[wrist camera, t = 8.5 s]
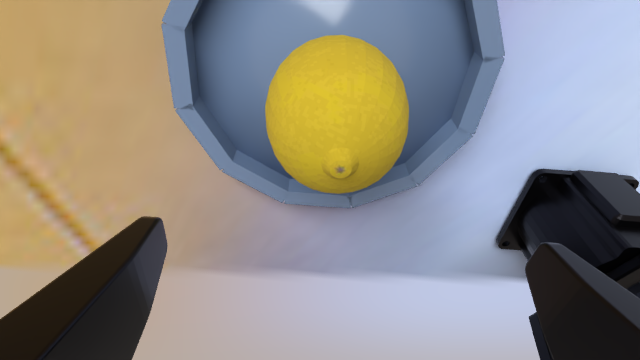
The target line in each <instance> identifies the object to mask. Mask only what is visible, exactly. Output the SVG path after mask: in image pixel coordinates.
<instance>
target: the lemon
mask: <svg viewBox="0 0 640 360" xmlns="http://www.w3.org/2000/svg"><path fill="white" fill-rule="evenodd" d="M265 116H266V129H267V134H268V138H269V140H270V143H271V146H272V149H273V152H274V154H275V156H276V158H277V159H278V161H279V162H280V163H281V165H282V166H283V168H284V169H285V171H286V172H287V173H288V174H290V175H291V176H292V177H293V178H294V179H295V180H297V181H298V182H299V183H301V184H303V185H305V186H307V187H309V188H311V189H313V190H317V191H320V192H324V193H335V194H341V193H349V192H355V191H358V190H361V189H364V188H367V187H368V186H370V185H372V184H373V183H375V182H377V181H379V180H380V179H381V178H382V177H383V176H384V175H385V174H386V173H387V172H388V171H389V170H390V169H391V168H392V167H393V165H394V164H395V162H396V161H397V159H398V158H399V156H400V154H401V152H402V149H403V146H404V143H405V140H406V138H407V133H408V121H409V104H408V99H407V95H406V91H405V87H404V83H403V81H402V79H401V77H400V75H399V74H398V72H397V70H396V68H395V67H394V65H393V63H392V62H391V61H390V60H389V59H388V58H387V57H386V56H385V55H384V54H383V53H382V52H381V51H380V50H379V49H378V48H376V47H375V46H373V45H371V44H369V43H367V42H365V41H363V40H362V39H359V38H355V37H350V36H346V35H327V36H323V37H319V38H316V39H313V40H310V41H308V42H306V43H304V44H303V45H301V46H299V47H298V48H296V49H295V50H293V51H292V52H291V54H290V55H289V56H288V57H287V58H286V59H285V60H284V61H283V62H282V63H281V64H280V66H279V68H278V70H277V71H276V73H275V75H274V77H273V79H272V81H271V83H270V86H269V90H268V95H267V100H266V105H265Z"/></svg>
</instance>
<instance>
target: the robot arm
mask: <svg viewBox="0 0 640 360" xmlns="http://www.w3.org/2000/svg"><path fill="white" fill-rule="evenodd" d="M542 176H543V177H542ZM540 177H542V178H540ZM539 178H540V179H539ZM638 185H639V182H638V181H637V180H636V179H635V178H634V177H632V176H626V175H618V174H616V173H606V172H593V171H581V170H578V171H563V170H551V169H539V170H536V171H535V172H534V173H533V174H532V175H531V177H530V179H529V181H528V182H527V184H526V186H525V188H524V190H523V192H522V193H521V195H520V197H519V199H518V201H517V203H516V204H515V206H514V208H513V210H512V212H511V213H510V215H509V217H508V219H507V221H506V223H505V224H504V226H503V228H502V230H501V232H500V234H499V235H498V237H497V239H496V243H497V245H498V246H499V248H501V249H513V250H522V252H523V253H524V255H525V257H526V258H527V260H528V262H527V264H526V269H525V271H526V277H527V280H528V283H529V287H530V290H531V294H532V297H533V301H534V304H535V307H536V311H537V312H536V313H534V314H533V315H531V316H529V320H530V324H531V327H532V331H533V335H534V339H535V342H536V346H537V349H538V353H539V356H540V360H640V194H639V193H638V192H637V191H636V188H637V187H638ZM166 253H167V239H166V234H165V230H164V225H163V221H162V220H161V218H159V217H146V216H144V217H141V218H139V219H137V220H136V221H135V222H133V223H132V224H131V225H129V226H128V227H126V228H125V229H124V230H122V231H121V232H120V233H118V234H117V235H115V236H114V237H113V238H111V239H110V240H108V241H107V242H106V243H104V244H103V245H102V246H100V247H99V248H97V249H96V250H95V251H93V252H92V253H91V254H89V255H88V256H86V257H85V258H84V259H82V260H81V261H80V262H78V263H77V264H75V265H74V266H73V267H71V268H70V269H69V270H67V271H66V272H64V273H63V274H62V275H60V276H59V277H58V278H56V279H55V280H53V281H52V282H51V283H49V284H48V285H46V286H45V287H44V288H42V289H41V290H40V291H38V292H37V293H36V294H34V295H33V296H31V297H30V298H29V299H27V300H26V301H25V302H23V303H22V304H20V305H19V306H18V307H16V308H15V309H13V310H12V311H11V312H9V313H8V314H7V315H5V316H4V317H2V318H1V319H0V360H132V358H133V355H134V353H135V350H136V348H137V345H138V343H139V340H140V337H141V335H142V332H143V330H144V327H145V325H146V322H147V320H148V317H149V314H150V311H151V308H152V304H153V301H154V296H155V293H156V290H157V286H158V282H159V279H160V275H161V271H162V268H163V264H164V260H165V256H166Z"/></svg>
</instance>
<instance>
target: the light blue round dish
mask: <svg viewBox="0 0 640 360" xmlns="http://www.w3.org/2000/svg"><path fill="white" fill-rule="evenodd" d="M162 21H163V23H162V31H163V37H164V44H165V51H166V57H167V64H168V71H169V77H170V84H171V91H172V97H173V104H174V108H177V109H176V110H175V111H176V112H177V114H178V115H179V116H180V118H181V119H182V120H183V122H184V123H185V124H186V126H187V127H188V128H189V130H190V131H191V132H192V134H193V135H194V136H195V138H196V139H197V140H198V142H199V143H200V144H201V146H202V147H203V148H204V150H205V151H206V152H207V154H208V155H209V156H210V157H211V159H212V160H213V161H214V163H215V164H216V165H217V167H218V168H219V169H220V170H221V169H223V170H222V172H224V173H225V174H227V175H229V176H231V177H233V178H235V179H237V180H239V181H241V182H243V183H245V184H247V185H249V186H250V187H252V188H254V189H256V190H258V191H260V192H262V193H264V194H266V195H268V196H270V197H272V198H274V199H275V200H277V201H279V202H281V203H283V202H284V200H285V204H296V205H310V206H325V207H339V208H350V207H351V206H352V208H354V207H357V206H360V205H363V204H366V203H369V202H372V201H375V200H378V199H381V198H384V197H387V196H390V195H393V194H396V193H399V192H401V191H404V190H407V189H410V188H413V187H416V184H418V185H420V184H421V183H422V182H423V181H424V180H425V179H426V178H427V177H428V176H429V175H431V174H432V173H433V172H434V171H435V170H436V169H437V168H438V167H439V166H440V165H442V164H443V163H444V162H445V161H446V160H447V159H448V158H449V157H450V156H451V155H453V154H454V153H455V152H456V151H457V150H458V149H459V148H460V147H461V146H463V145H464V144H465V143H466V142H467V141H468V140H469V139H470V138H471V137H472V134H475V131H476V129H477V126H478V124H479V121H480V119H481V116H482V114H483V111H484V109H485V106H486V104H487V101H488V99H489V96H490V94H491V91H492V89H493V86H494V84H495V81H496V79H497V76H498V74H499V71H500V69H501V66H502V64H503V61H504V58H503V57H502V56H505V52H504V46H503V39H502V32H501V25H500V19H499V12H498V5H497V0H171V1H170V3H169V6H168V8H167V10H166V12H165V15H164V17H163V19H162ZM327 35H346V36H350V37H355V38H359V39H362V40H363V41H365V42H367V43H369V44H371V45H373V46H375V47H376V48H378V49H379V50H380V51H381V52H382V53H383V54H384V55H385V56H386V57H387V58H388V59H389V60H390V61H391V62H392V63H393V65H394V67H395V68H396V70H397V72H398V74H399V75H400V77H401V79H402V81H403V83H404V87H405V91H406V95H407V99H408V104H409V121H408V133H407V138H406V140H405V143H404V146H403V149H402V152H401V154H400V156H399V158H398V159H397V161H396V162H395V164H394V165H393V167H392V168H391V169H390V170H389V171H388V172H387V173H386V174H385V175H384V176H383V177H382V178H381V179H380V180H379V181H377V182H375V183H373V184H372V185H370V186H368V187H367V188H364V189H361V190H358V191H355V192H349V193H341V194H335V193H324V192H320V191H317V190H313V189H311V188H309V187H307V186H305V185H303V184H301V183H299V182H298V181H297V180H295V179H294V178H293V177H292V176H291V175H290V174H288V173H287V172H286V171H285V169H284V168H283V166H282V165H281V163H280V162H279V161H278V159H277V158H276V156H275V154H274V152H273V149H272V146H271V143H270V140H269V138H268V134H267V129H266V116H265V105H266V100H267V95H268V90H269V86H270V83H271V81H272V79H273V77H274V75H275V73H276V71H277V70H278V68H279V66H280V64H281V63H282V62H283V61H284V60H285V59H286V58H287V57H288V56H289V55H290V54H291V52H292V51H293V50H295V49H296V48H298V47H299V46H301V45H303V44H304V43H306V42H308V41H310V40H313V39H316V38H319V37H323V36H327Z"/></svg>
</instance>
